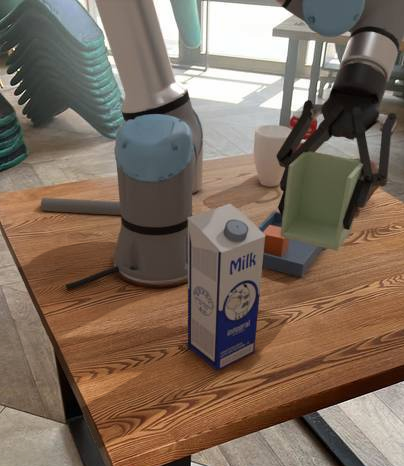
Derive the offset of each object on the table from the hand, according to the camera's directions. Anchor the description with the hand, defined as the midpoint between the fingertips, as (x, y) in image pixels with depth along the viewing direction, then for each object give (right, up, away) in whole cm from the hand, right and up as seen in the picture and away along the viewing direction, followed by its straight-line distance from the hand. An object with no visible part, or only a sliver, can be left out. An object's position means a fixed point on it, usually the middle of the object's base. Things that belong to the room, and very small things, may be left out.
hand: (313, 218), depth 83 cm
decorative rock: (+13, +12, +37) cm, 41 cm away
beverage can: (+7, +25, +53) cm, 60 cm away
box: (+1, -1, +5) cm, 5 cm away
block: (-2, +2, +20) cm, 20 cm away
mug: (+1, +19, +45) cm, 49 cm away
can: (-20, +17, +42) cm, 50 cm away
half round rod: (-39, +10, +33) cm, 52 cm away
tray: (-1, 0, +22) cm, 22 cm away
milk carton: (-13, -19, -2) cm, 24 cm away
